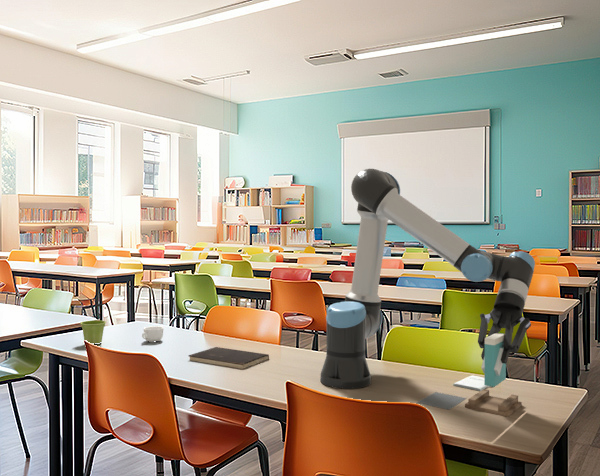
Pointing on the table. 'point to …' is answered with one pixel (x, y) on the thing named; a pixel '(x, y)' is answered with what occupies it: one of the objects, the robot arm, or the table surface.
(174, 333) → the table surface
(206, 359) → the hardcover book
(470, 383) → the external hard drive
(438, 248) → the robot arm
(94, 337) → the plant pot
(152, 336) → the teacup
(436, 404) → the mat
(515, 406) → the rack
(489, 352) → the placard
